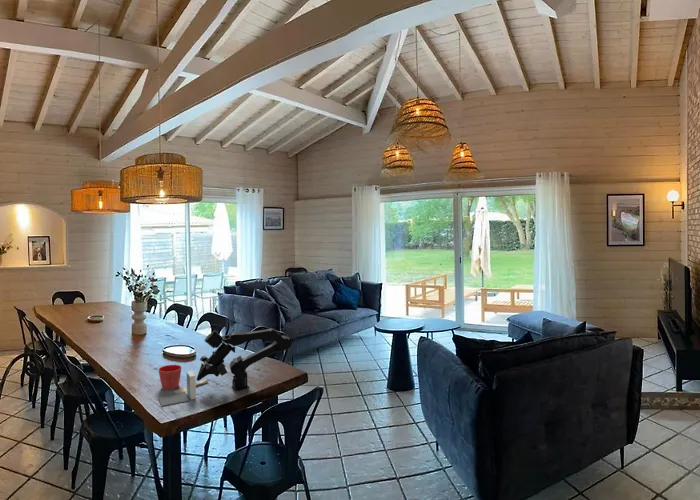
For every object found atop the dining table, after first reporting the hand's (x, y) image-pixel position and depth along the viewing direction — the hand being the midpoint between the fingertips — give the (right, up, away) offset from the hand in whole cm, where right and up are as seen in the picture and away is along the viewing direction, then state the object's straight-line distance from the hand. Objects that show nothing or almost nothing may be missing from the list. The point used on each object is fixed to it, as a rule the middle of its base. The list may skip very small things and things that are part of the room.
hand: (197, 380), depth 211 cm
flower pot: (-17, -7, +11) cm, 21 cm away
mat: (-9, -7, -5) cm, 13 cm away
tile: (-2, -7, -1) cm, 8 cm away
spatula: (-6, -6, +10) cm, 13 cm away
